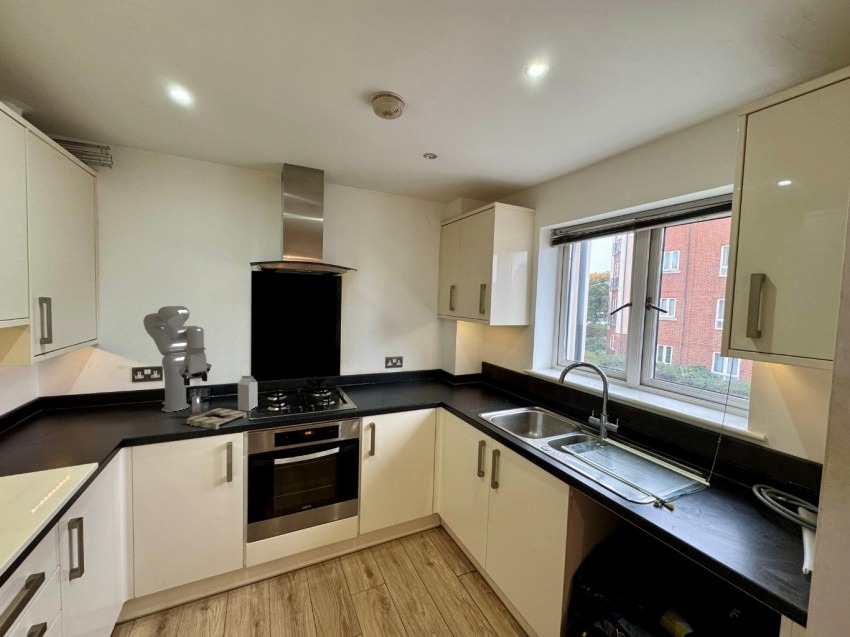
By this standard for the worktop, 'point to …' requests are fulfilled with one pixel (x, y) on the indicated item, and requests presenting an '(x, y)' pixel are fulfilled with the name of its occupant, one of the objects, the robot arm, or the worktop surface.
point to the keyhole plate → (215, 418)
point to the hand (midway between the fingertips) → (196, 383)
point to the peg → (196, 406)
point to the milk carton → (247, 393)
